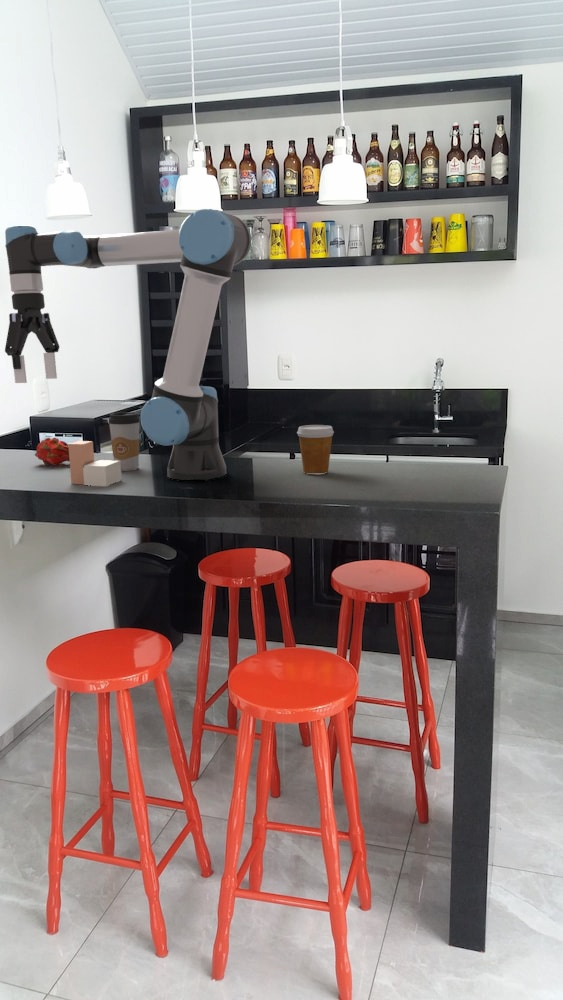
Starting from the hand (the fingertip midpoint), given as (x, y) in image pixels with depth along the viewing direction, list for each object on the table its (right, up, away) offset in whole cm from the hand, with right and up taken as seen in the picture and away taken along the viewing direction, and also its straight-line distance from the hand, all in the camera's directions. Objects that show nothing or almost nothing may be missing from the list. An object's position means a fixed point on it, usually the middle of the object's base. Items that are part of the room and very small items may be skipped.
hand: (36, 380), depth 206 cm
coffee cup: (+19, -21, +20) cm, 35 cm away
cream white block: (+16, -25, +1) cm, 30 cm away
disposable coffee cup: (+70, -23, +9) cm, 74 cm away
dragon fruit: (-3, -20, +28) cm, 35 cm away
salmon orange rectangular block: (+11, -25, +3) cm, 28 cm away
